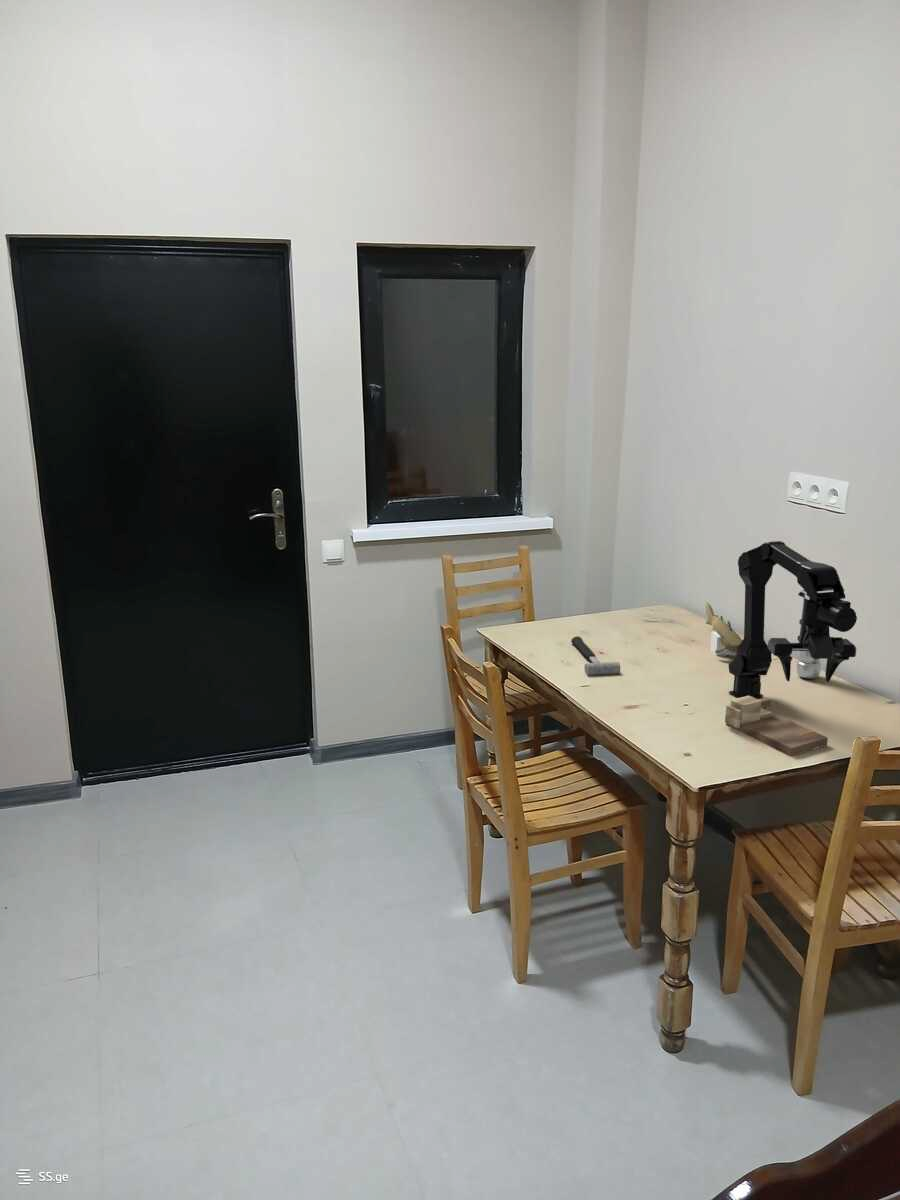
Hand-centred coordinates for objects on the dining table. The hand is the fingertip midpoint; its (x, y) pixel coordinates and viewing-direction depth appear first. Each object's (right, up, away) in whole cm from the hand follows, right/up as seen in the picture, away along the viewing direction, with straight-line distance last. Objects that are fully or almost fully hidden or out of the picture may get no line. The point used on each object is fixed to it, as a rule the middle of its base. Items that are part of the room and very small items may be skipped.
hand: (807, 681), depth 199 cm
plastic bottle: (+17, -3, +39) cm, 43 cm away
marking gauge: (-12, -10, +6) cm, 17 cm away
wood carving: (0, +3, +63) cm, 63 cm away
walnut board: (-7, -13, +1) cm, 15 cm away
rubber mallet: (-43, +1, +57) cm, 71 cm away
